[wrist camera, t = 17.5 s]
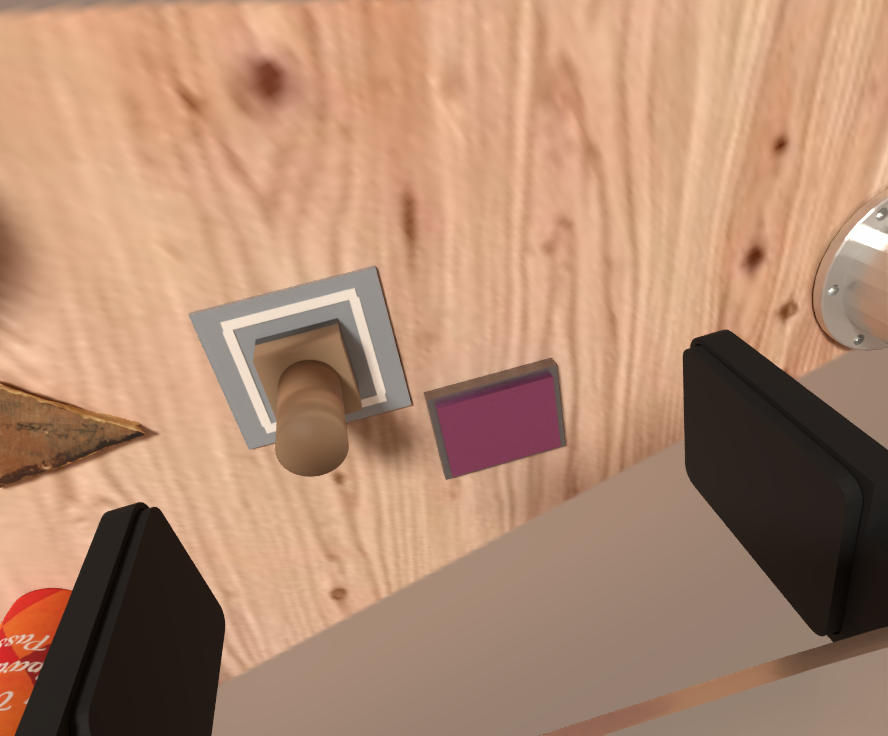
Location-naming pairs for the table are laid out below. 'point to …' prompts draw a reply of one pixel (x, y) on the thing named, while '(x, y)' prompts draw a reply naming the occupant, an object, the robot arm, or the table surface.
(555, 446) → the ink pad
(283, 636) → the table surface
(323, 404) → the stamp
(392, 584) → the table surface
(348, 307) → the marked card
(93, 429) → the shard
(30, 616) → the paper cup
